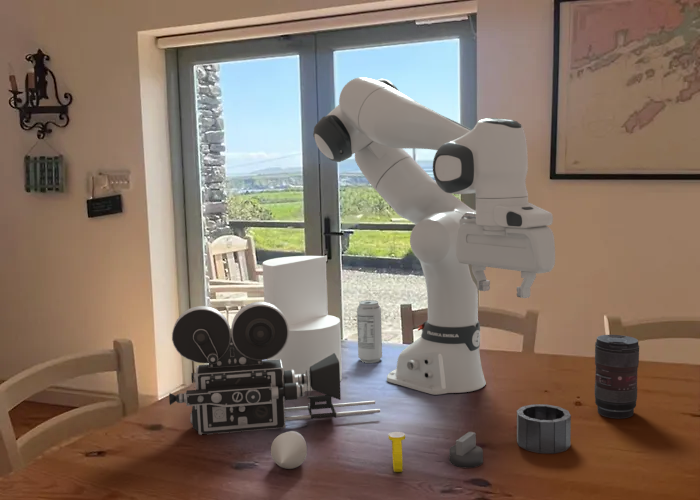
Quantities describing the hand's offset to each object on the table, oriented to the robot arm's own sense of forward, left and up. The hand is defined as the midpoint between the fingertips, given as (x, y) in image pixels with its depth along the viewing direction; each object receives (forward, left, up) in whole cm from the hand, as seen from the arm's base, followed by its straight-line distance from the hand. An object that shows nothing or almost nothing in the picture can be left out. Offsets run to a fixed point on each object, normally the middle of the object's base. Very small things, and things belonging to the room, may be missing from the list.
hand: (503, 293), depth 129 cm
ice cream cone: (-25, -28, -28) cm, 47 cm away
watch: (-10, -18, -28) cm, 35 cm away
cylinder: (-55, +12, -28) cm, 63 cm away
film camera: (-41, -13, -28) cm, 52 cm away
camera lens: (+12, +26, -28) cm, 40 cm away
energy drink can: (-51, +33, -28) cm, 67 cm away
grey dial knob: (-2, -9, -28) cm, 29 cm away
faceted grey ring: (+6, +4, -27) cm, 28 cm away
